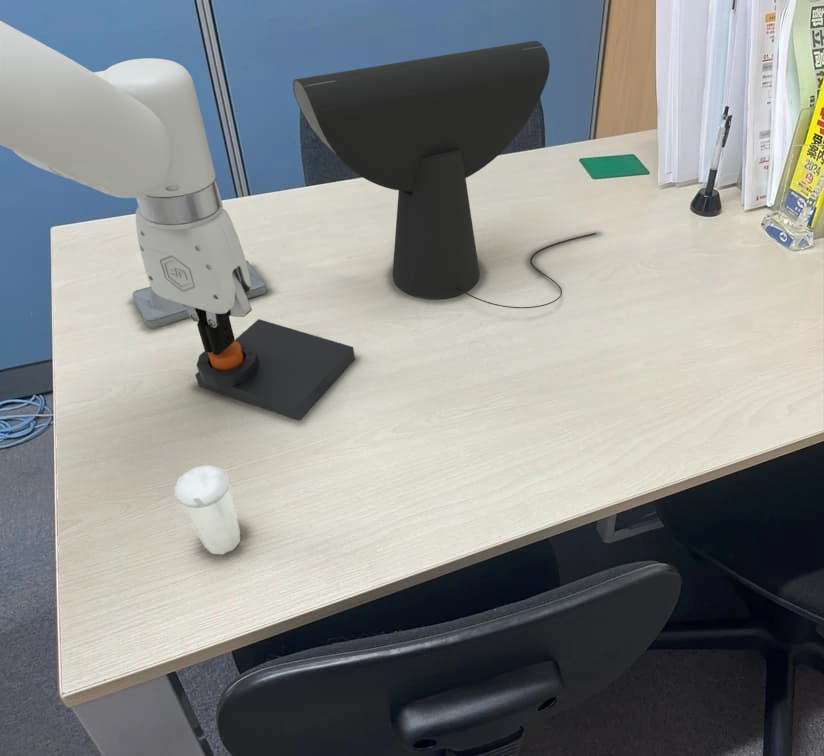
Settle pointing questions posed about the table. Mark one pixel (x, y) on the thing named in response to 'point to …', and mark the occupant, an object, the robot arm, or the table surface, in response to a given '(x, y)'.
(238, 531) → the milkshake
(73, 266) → the table surface
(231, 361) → the button
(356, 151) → the table lamp
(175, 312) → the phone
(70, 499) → the table surface
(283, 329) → the dark grey flat block
